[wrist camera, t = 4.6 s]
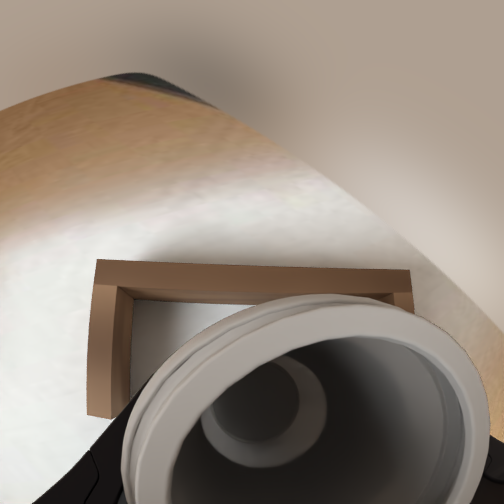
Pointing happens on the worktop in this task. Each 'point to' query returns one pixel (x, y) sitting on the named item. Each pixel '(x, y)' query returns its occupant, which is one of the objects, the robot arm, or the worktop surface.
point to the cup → (311, 411)
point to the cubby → (203, 291)
